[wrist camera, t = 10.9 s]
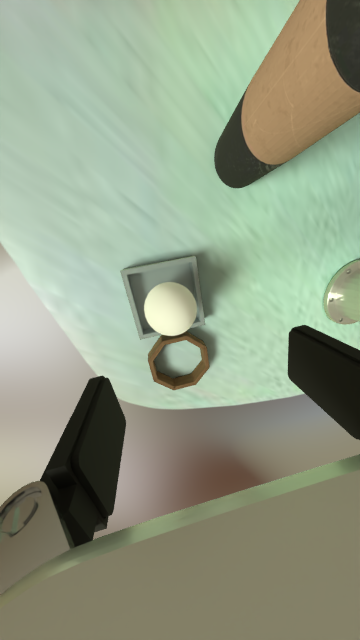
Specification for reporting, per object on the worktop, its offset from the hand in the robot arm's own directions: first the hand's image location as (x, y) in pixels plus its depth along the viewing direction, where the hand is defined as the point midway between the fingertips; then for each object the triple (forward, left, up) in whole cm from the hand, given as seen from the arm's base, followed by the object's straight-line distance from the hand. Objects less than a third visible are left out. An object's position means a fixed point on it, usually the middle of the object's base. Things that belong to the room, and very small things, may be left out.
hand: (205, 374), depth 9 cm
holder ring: (0, +13, -23) cm, 26 cm away
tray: (0, +1, -23) cm, 23 cm away
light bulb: (0, +1, -22) cm, 22 cm away
